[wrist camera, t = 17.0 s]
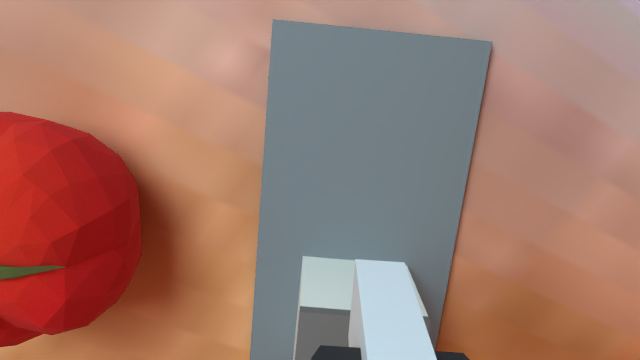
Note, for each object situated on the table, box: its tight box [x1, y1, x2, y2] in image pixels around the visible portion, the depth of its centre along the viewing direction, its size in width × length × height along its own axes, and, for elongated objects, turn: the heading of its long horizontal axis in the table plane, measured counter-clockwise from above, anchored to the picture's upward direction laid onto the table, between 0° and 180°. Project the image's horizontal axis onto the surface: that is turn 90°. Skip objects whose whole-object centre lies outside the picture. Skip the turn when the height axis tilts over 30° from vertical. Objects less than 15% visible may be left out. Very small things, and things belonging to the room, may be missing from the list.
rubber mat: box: [250, 19, 492, 360], centre depth 32 cm, size 13×28×1 cm, turn 174°
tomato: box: [0, 112, 142, 347], centre depth 26 cm, size 12×13×12 cm
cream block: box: [293, 256, 431, 360], centre depth 30 cm, size 7×7×7 cm
